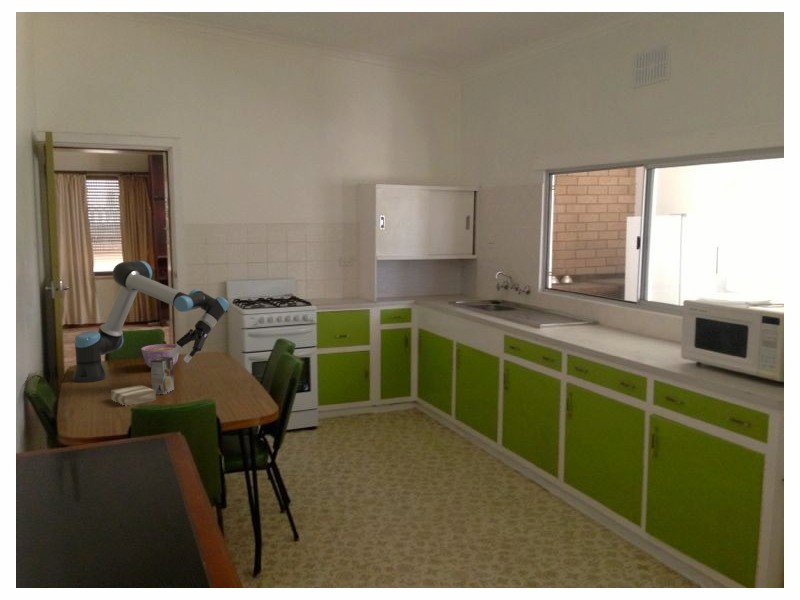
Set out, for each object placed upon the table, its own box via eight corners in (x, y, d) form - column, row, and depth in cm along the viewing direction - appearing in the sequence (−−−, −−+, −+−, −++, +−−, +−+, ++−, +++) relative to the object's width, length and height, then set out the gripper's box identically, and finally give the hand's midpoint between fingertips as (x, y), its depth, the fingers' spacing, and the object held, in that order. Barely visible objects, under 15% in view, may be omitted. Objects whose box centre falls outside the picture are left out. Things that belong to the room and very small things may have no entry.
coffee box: (162, 389, 322) (161, 356, 320) (174, 390, 321) (173, 357, 319) (151, 394, 314) (150, 360, 311) (164, 395, 312) (162, 361, 310)
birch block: (111, 401, 303) (111, 390, 302) (141, 395, 313) (141, 384, 312) (125, 407, 294) (124, 396, 293) (155, 401, 304) (155, 390, 303)
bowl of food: (188, 367, 369) (188, 346, 367) (158, 374, 352) (157, 352, 350) (164, 362, 379) (164, 342, 378) (134, 369, 363) (133, 348, 361)
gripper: (224, 332, 323) (196, 367, 314) (197, 326, 340) (171, 359, 331) (213, 322, 318) (185, 358, 309) (187, 316, 335) (160, 350, 327)
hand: (178, 359), depth 320 cm, fingers open, 13 cm apart
